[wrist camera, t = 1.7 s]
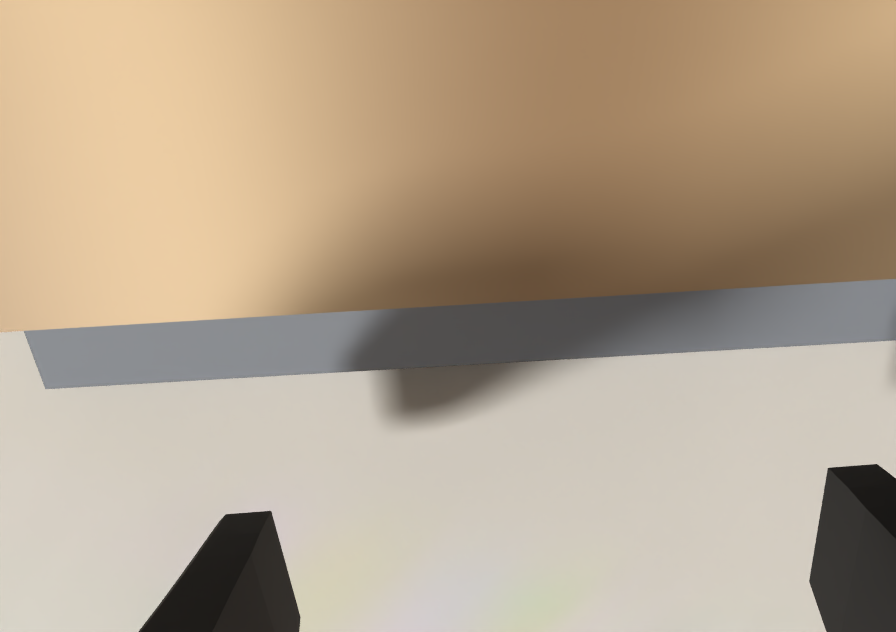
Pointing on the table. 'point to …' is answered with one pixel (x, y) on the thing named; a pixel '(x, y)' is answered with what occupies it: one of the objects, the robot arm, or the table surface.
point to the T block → (434, 153)
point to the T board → (467, 334)
